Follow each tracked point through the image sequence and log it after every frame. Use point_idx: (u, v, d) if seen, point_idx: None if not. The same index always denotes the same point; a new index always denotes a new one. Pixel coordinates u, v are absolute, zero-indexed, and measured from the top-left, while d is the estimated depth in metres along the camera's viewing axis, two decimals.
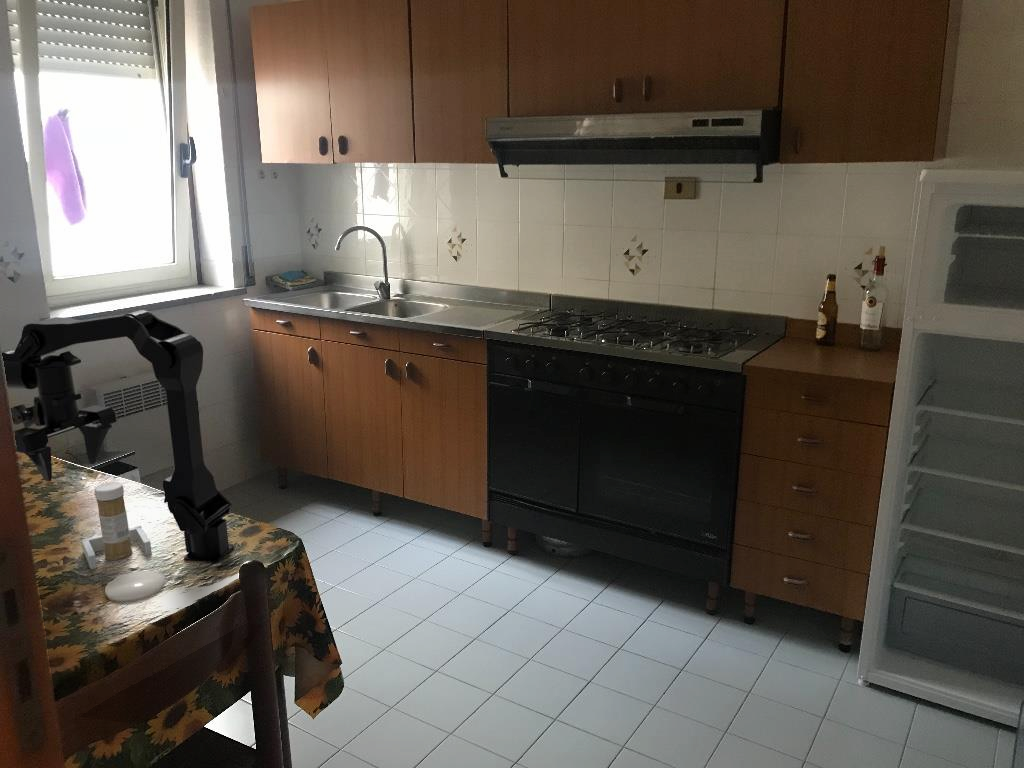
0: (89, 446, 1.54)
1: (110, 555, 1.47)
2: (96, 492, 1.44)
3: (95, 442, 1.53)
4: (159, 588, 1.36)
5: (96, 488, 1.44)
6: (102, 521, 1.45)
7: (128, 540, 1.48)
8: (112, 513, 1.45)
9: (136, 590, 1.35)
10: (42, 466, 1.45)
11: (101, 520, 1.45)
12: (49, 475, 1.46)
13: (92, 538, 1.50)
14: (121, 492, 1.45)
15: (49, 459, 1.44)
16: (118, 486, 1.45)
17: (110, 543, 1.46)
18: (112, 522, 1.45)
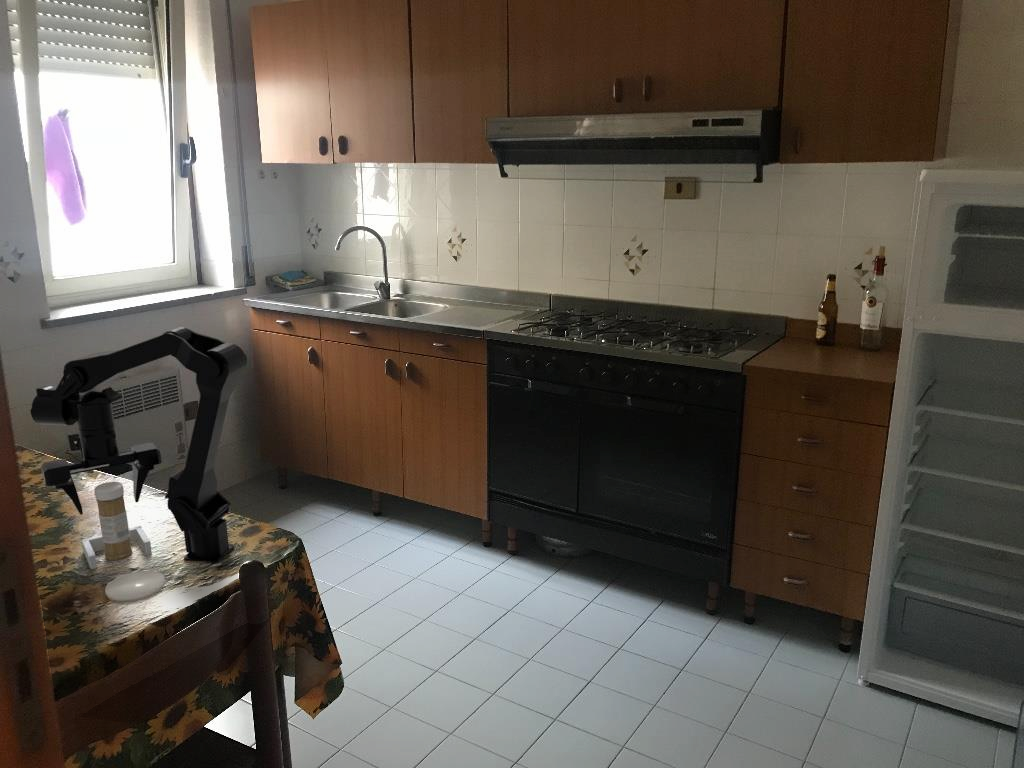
0: (134, 484, 1.52)
1: (110, 555, 1.47)
2: (96, 492, 1.44)
3: (136, 481, 1.50)
4: (159, 588, 1.36)
5: (96, 488, 1.44)
6: (102, 521, 1.45)
7: (128, 540, 1.48)
8: (112, 513, 1.45)
9: (136, 590, 1.35)
10: (71, 499, 1.45)
11: (101, 520, 1.45)
12: (79, 508, 1.46)
13: (92, 538, 1.50)
14: (121, 492, 1.45)
15: (75, 494, 1.44)
16: (118, 486, 1.45)
17: (110, 543, 1.46)
18: (112, 522, 1.45)
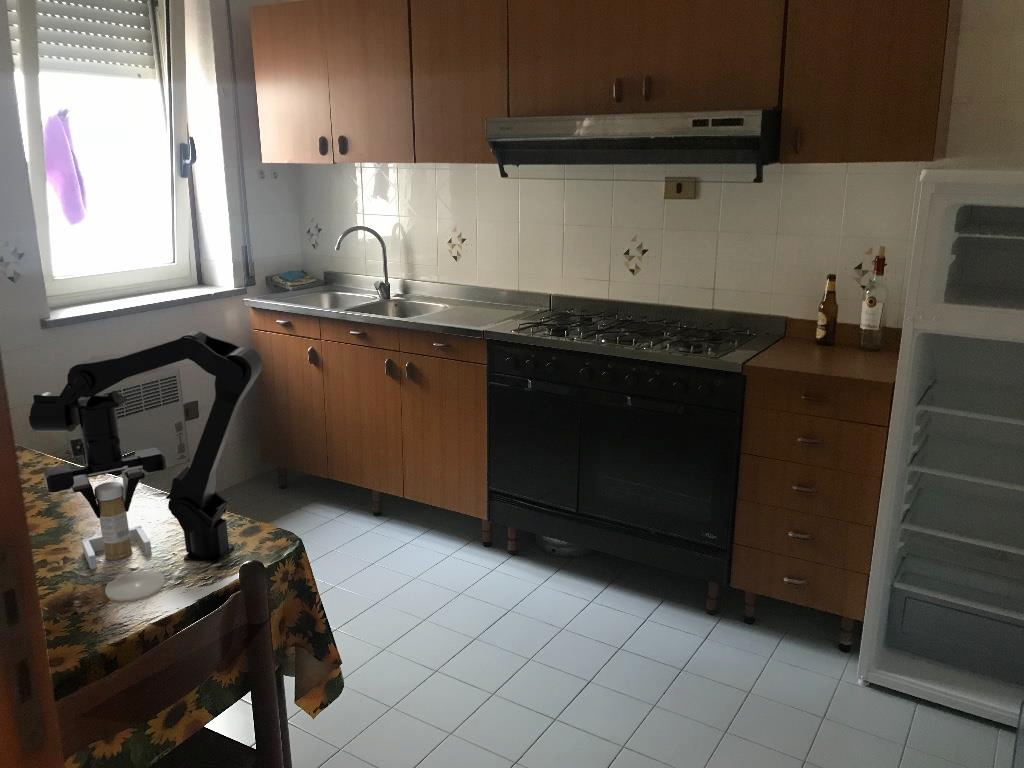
0: (124, 493, 1.47)
1: (110, 555, 1.47)
2: (96, 492, 1.44)
3: (126, 490, 1.46)
4: (159, 588, 1.36)
5: (96, 488, 1.44)
6: (102, 521, 1.45)
7: (128, 540, 1.48)
8: (112, 513, 1.45)
9: (136, 590, 1.35)
10: (89, 502, 1.43)
11: (101, 520, 1.45)
12: (96, 512, 1.44)
13: (92, 538, 1.50)
14: (121, 492, 1.45)
15: (93, 497, 1.42)
16: (118, 486, 1.45)
17: (110, 543, 1.46)
18: (112, 522, 1.45)
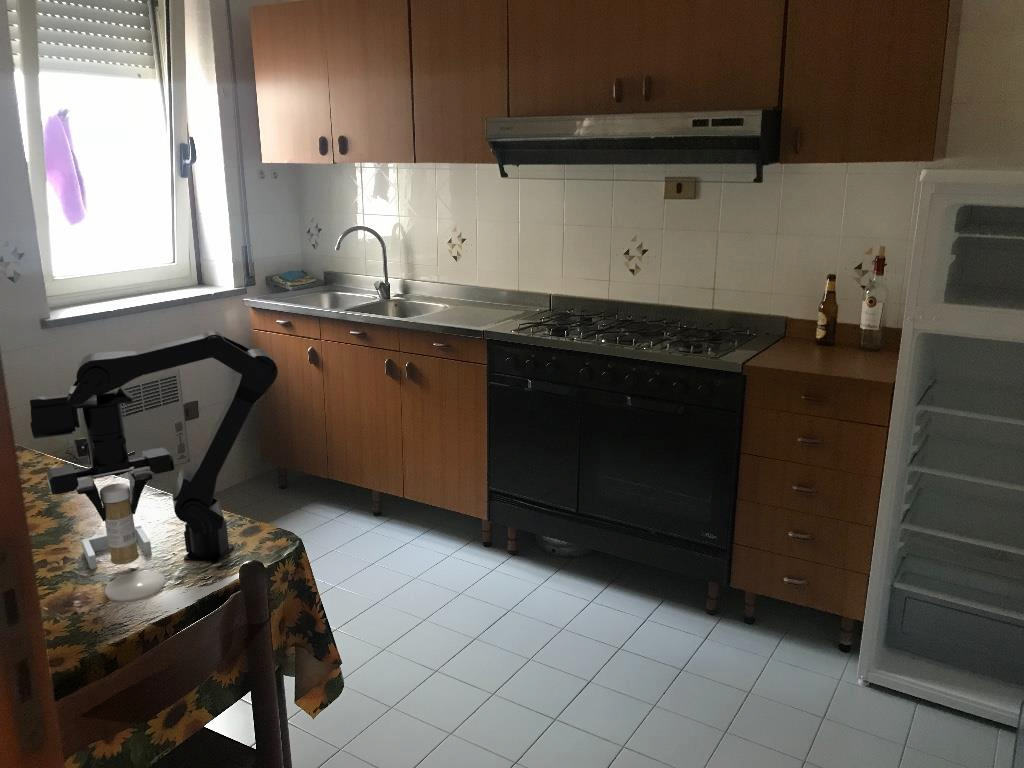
0: (130, 495, 1.41)
1: (116, 560, 1.41)
2: (101, 494, 1.38)
3: (132, 492, 1.40)
4: (159, 588, 1.36)
5: (101, 490, 1.39)
6: (108, 524, 1.39)
7: (135, 544, 1.42)
8: (118, 516, 1.39)
9: (136, 590, 1.35)
10: (94, 505, 1.37)
11: (107, 523, 1.39)
12: (101, 515, 1.39)
13: (92, 538, 1.50)
14: (127, 494, 1.40)
15: (98, 499, 1.36)
16: (124, 487, 1.39)
17: (116, 547, 1.40)
18: (118, 526, 1.39)
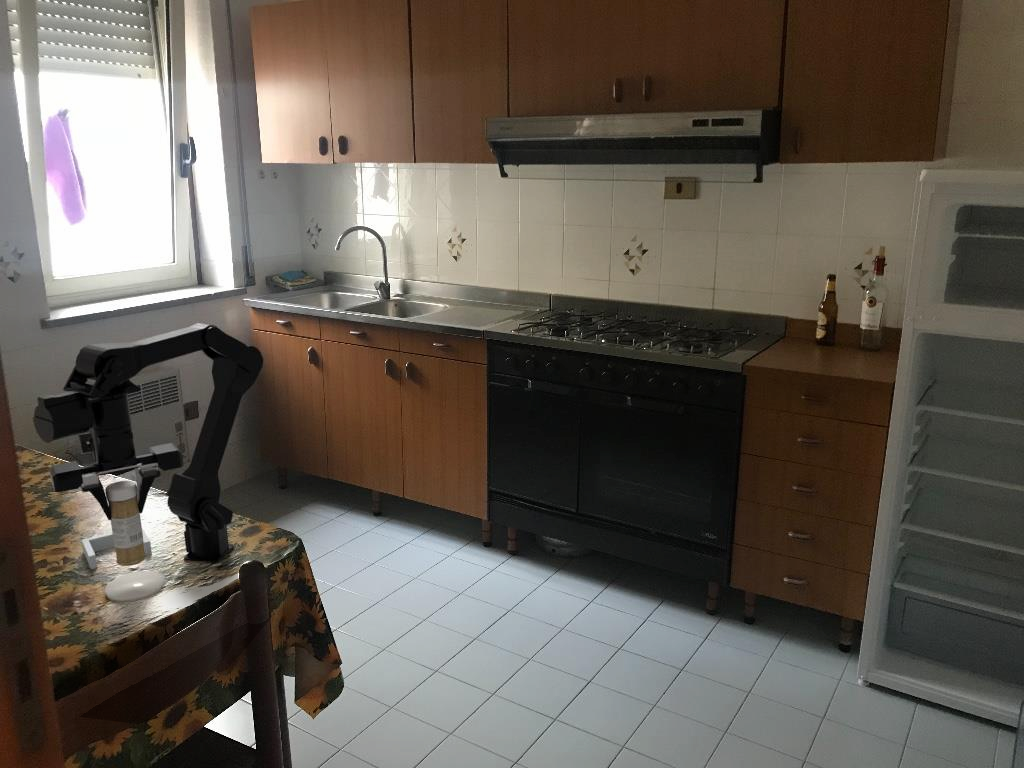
0: (137, 492, 1.35)
1: (122, 561, 1.34)
2: (107, 492, 1.31)
3: (140, 490, 1.33)
4: (159, 588, 1.36)
5: (107, 487, 1.32)
6: (114, 523, 1.32)
7: (142, 544, 1.36)
8: (124, 515, 1.32)
9: (136, 590, 1.35)
10: None
11: (112, 523, 1.33)
12: (107, 514, 1.32)
13: (92, 538, 1.50)
14: (134, 492, 1.33)
15: (103, 498, 1.30)
16: (131, 485, 1.33)
17: (123, 547, 1.33)
18: (125, 525, 1.32)
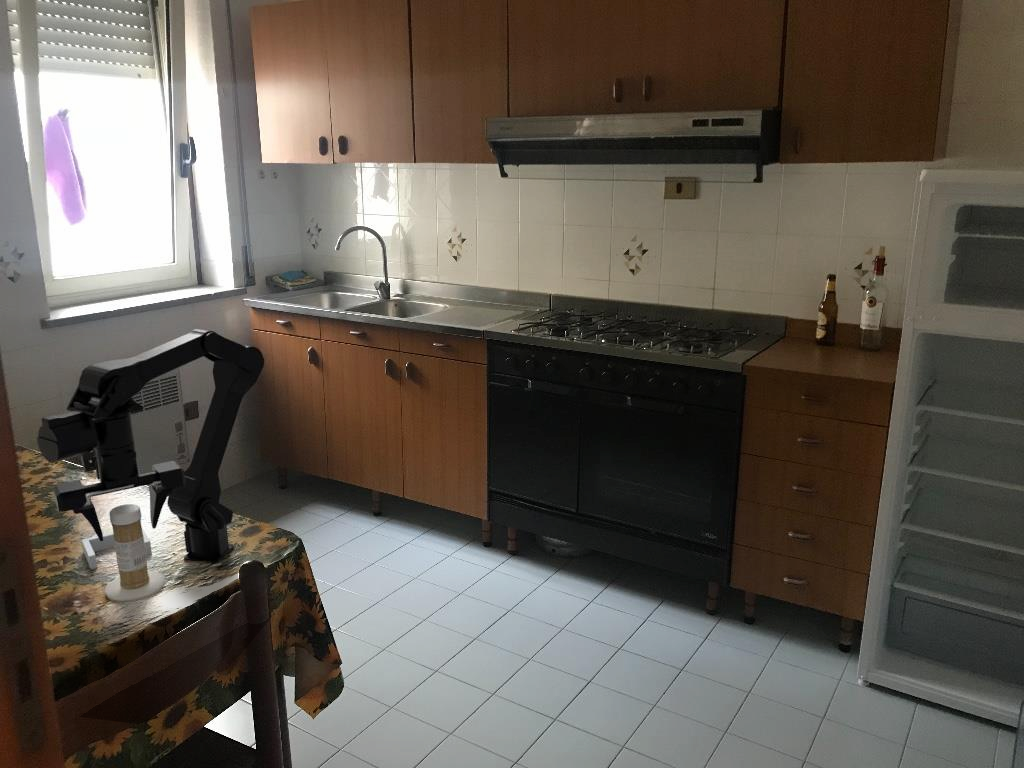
0: (151, 508, 1.36)
1: (126, 584, 1.35)
2: (111, 516, 1.32)
3: (153, 506, 1.35)
4: (159, 588, 1.36)
5: (111, 511, 1.33)
6: (118, 547, 1.33)
7: (145, 567, 1.37)
8: (128, 539, 1.33)
9: (136, 590, 1.35)
10: (91, 525, 1.30)
11: (116, 546, 1.33)
12: (99, 535, 1.31)
13: (92, 538, 1.50)
14: (138, 516, 1.34)
15: (95, 519, 1.29)
16: (135, 509, 1.34)
17: (126, 571, 1.34)
18: (129, 549, 1.33)
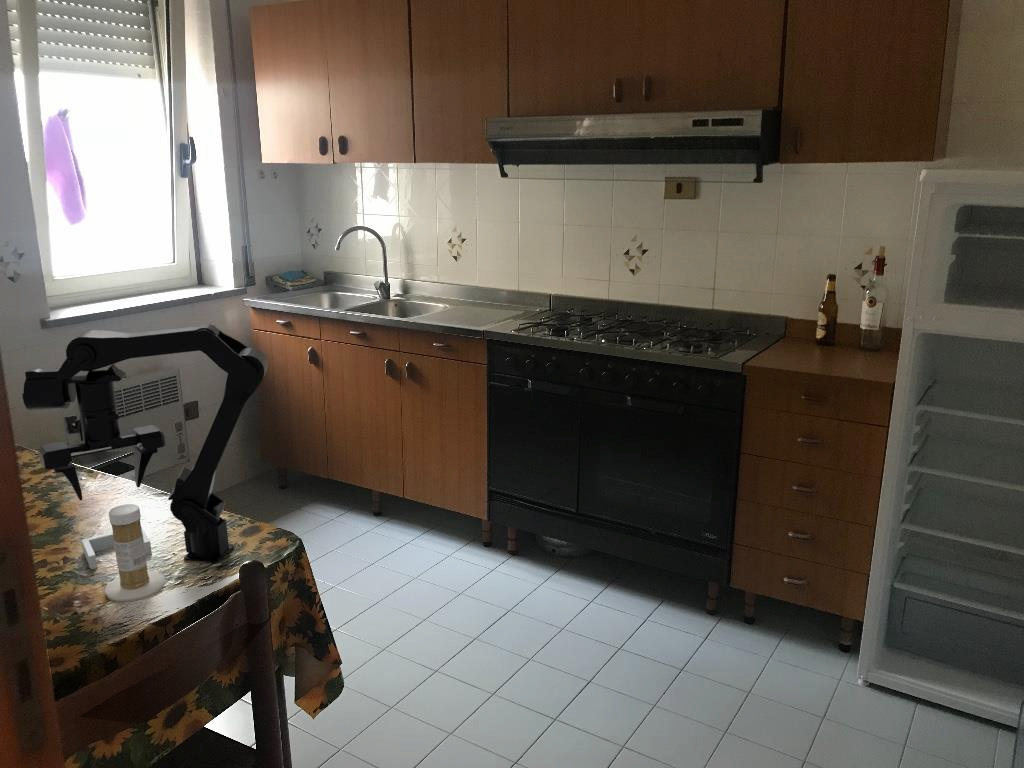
0: (135, 468, 1.45)
1: (126, 584, 1.35)
2: (111, 516, 1.32)
3: (138, 465, 1.43)
4: (159, 588, 1.36)
5: (111, 511, 1.33)
6: (117, 547, 1.33)
7: (145, 567, 1.37)
8: (128, 539, 1.33)
9: (136, 590, 1.35)
10: (71, 484, 1.38)
11: (116, 546, 1.34)
12: (78, 494, 1.39)
13: (92, 538, 1.50)
14: (138, 516, 1.34)
15: (75, 478, 1.37)
16: (134, 509, 1.34)
17: (126, 571, 1.34)
18: (128, 549, 1.33)
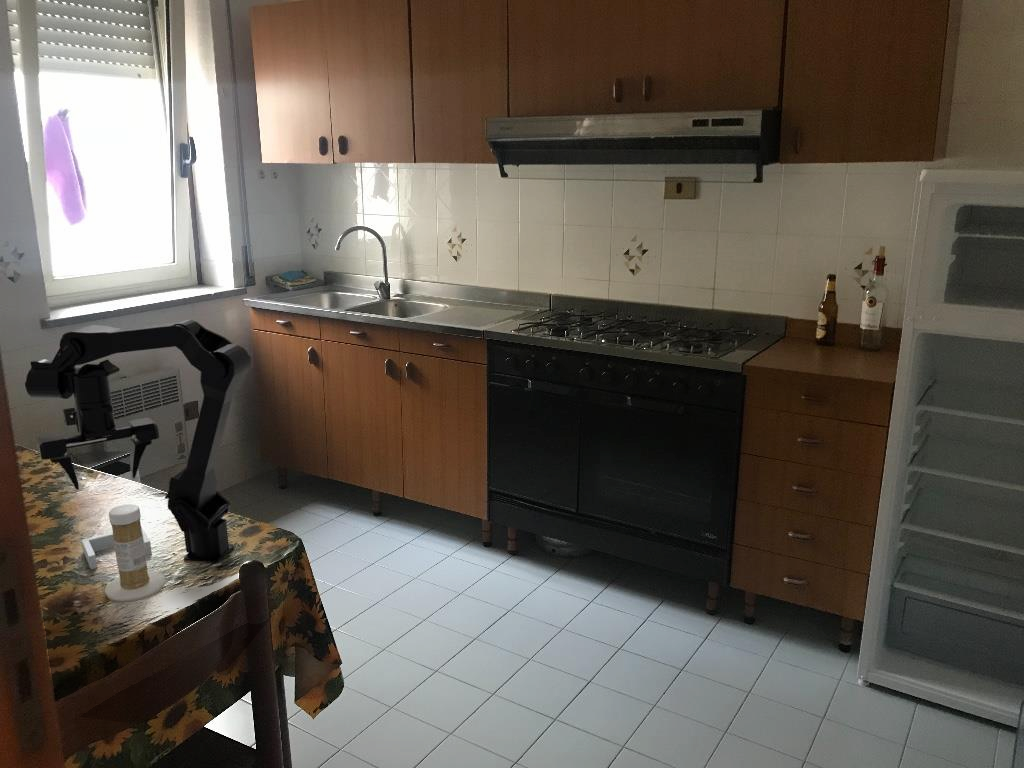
0: (131, 459, 1.49)
1: (126, 584, 1.35)
2: (111, 516, 1.32)
3: (133, 457, 1.48)
4: (159, 588, 1.36)
5: (111, 511, 1.33)
6: (117, 547, 1.33)
7: (145, 567, 1.37)
8: (128, 539, 1.33)
9: (136, 590, 1.35)
10: None
11: (116, 546, 1.34)
12: (75, 483, 1.44)
13: (92, 538, 1.50)
14: (138, 516, 1.34)
15: (71, 468, 1.42)
16: (134, 509, 1.34)
17: (126, 571, 1.34)
18: (128, 549, 1.33)
